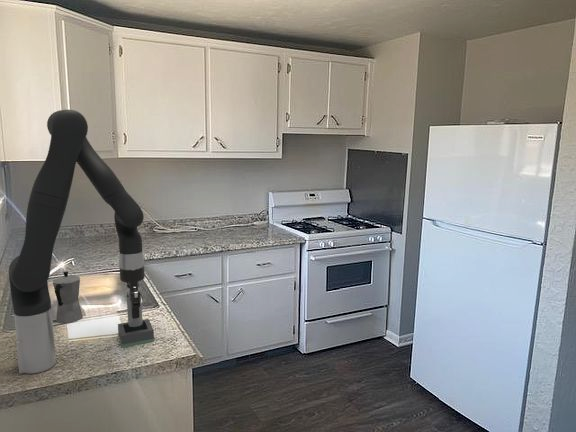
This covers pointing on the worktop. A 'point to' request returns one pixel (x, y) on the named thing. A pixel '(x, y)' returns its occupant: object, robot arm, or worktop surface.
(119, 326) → the socket board
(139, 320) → the dark grey cylinder
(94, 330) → the worktop surface
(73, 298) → the coffeepot
